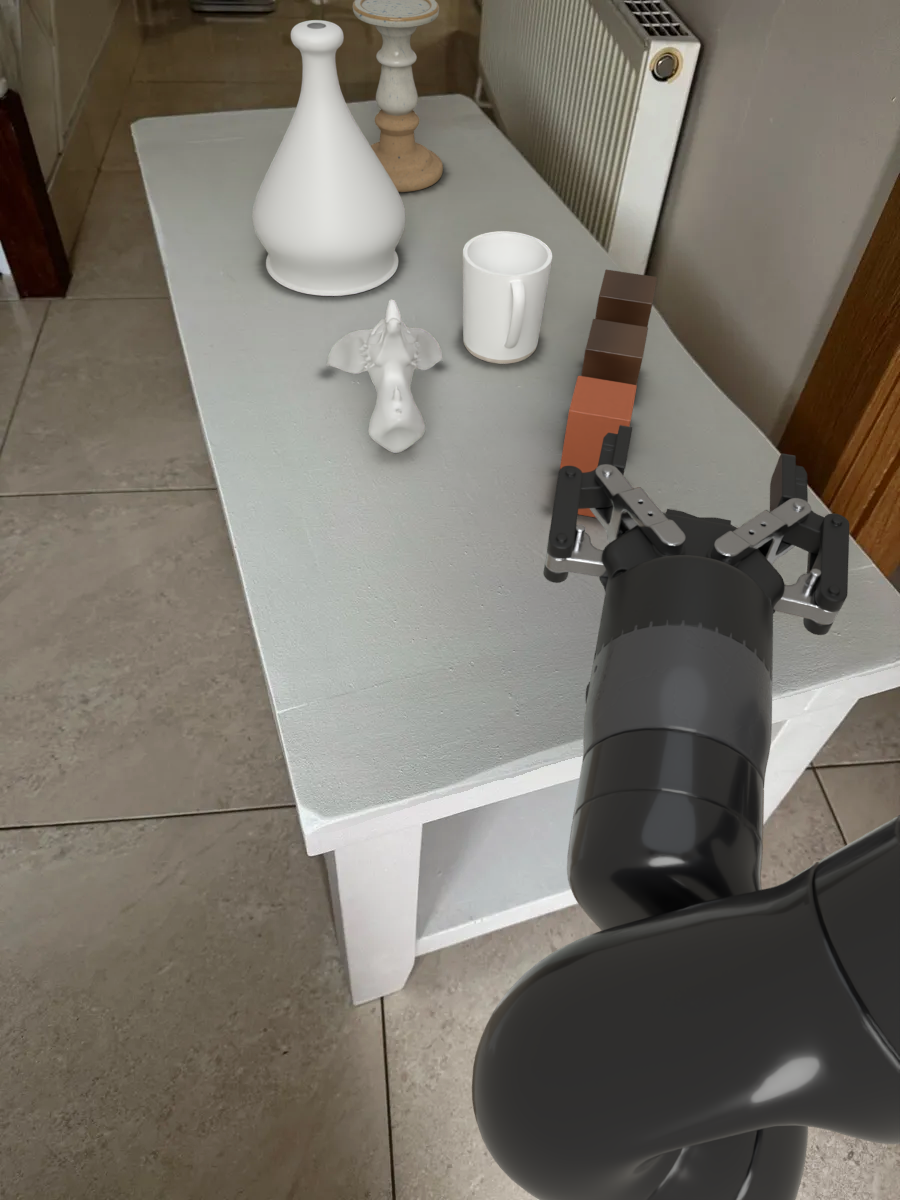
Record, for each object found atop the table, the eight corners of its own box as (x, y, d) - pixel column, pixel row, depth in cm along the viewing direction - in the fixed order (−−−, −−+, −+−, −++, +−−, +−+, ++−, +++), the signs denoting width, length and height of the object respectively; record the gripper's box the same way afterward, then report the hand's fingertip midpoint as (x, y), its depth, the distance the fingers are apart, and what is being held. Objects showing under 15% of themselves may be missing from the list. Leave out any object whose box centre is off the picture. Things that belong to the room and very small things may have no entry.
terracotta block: (615, 484, 86) (637, 385, 78) (608, 520, 83) (630, 421, 74) (561, 474, 87) (577, 375, 78) (553, 510, 83) (569, 410, 75)
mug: (452, 322, 103) (455, 233, 95) (531, 317, 104) (541, 229, 96) (470, 381, 96) (475, 290, 88) (554, 375, 97) (567, 285, 89)
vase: (286, 314, 103) (259, 67, 84) (239, 241, 113) (205, 7, 94) (429, 282, 108) (433, 43, 89) (372, 215, 118) (364, -11, 100)
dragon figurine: (327, 389, 75) (317, 252, 79) (336, 488, 92) (327, 371, 96) (473, 381, 76) (455, 247, 80) (455, 480, 93) (441, 365, 97)
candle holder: (352, 152, 130) (345, -14, 115) (440, 153, 131) (444, -12, 116) (351, 193, 122) (343, 20, 107) (445, 193, 123) (450, 22, 108)
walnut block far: (636, 373, 98) (657, 276, 89) (631, 401, 94) (652, 303, 86) (589, 365, 98) (605, 268, 90) (582, 392, 95) (598, 295, 87)
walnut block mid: (626, 425, 92) (648, 326, 83) (621, 456, 88) (642, 357, 80) (576, 416, 92) (593, 318, 84) (569, 447, 89) (585, 348, 81)
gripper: (885, 670, 36) (863, 418, 46) (522, 598, 38) (580, 371, 48) (821, 772, 41) (814, 526, 52) (508, 704, 43) (562, 481, 54)
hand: (701, 452), depth 50 cm, fingers open, 8 cm apart
